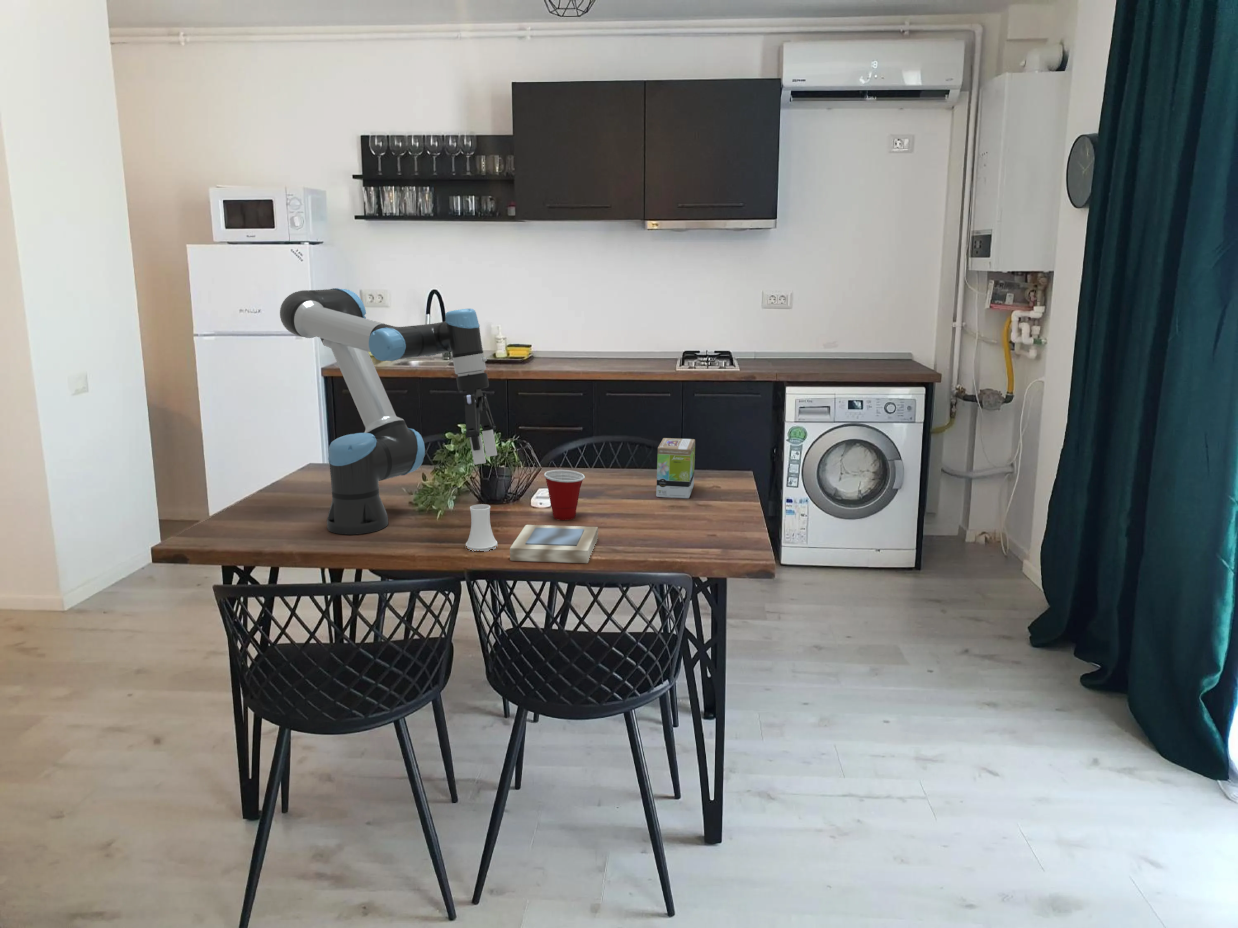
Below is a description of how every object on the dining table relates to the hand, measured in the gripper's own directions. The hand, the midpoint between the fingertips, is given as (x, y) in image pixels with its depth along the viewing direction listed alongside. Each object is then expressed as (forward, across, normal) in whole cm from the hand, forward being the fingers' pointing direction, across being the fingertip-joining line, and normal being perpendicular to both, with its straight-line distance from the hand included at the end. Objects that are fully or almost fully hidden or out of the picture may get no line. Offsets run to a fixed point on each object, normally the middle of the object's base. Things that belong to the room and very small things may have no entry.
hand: (486, 459), depth 222 cm
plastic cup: (+20, +18, -14) cm, 31 cm away
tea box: (+22, +46, -43) cm, 67 cm away
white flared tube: (+20, -7, +3) cm, 22 cm away
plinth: (+23, -8, -15) cm, 28 cm away
